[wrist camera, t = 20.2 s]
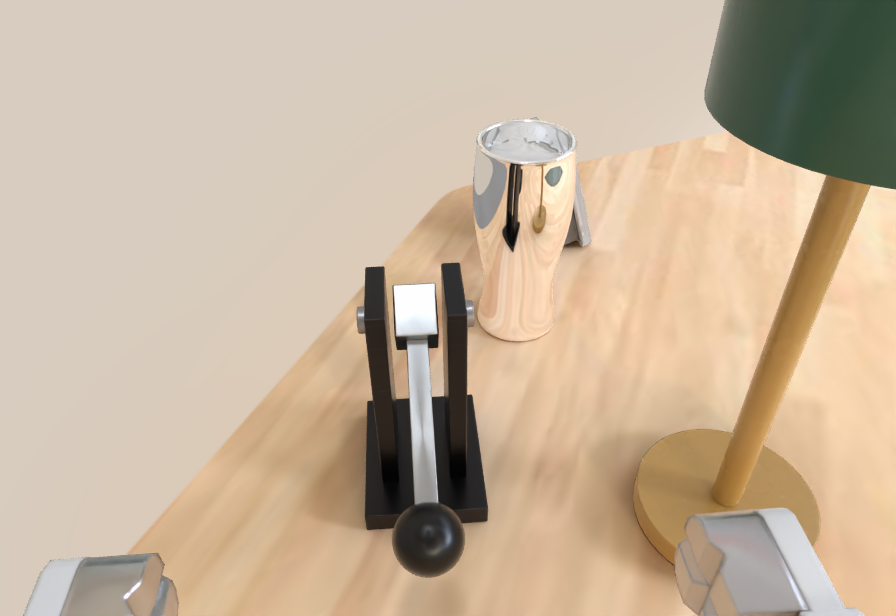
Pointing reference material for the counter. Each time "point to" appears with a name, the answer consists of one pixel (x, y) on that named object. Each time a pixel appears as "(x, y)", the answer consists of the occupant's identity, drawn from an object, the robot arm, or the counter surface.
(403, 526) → the switch lever
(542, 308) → the beer glass
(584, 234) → the electrical switch
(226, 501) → the counter surface
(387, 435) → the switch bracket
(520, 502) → the counter surface
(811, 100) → the desk lamp
